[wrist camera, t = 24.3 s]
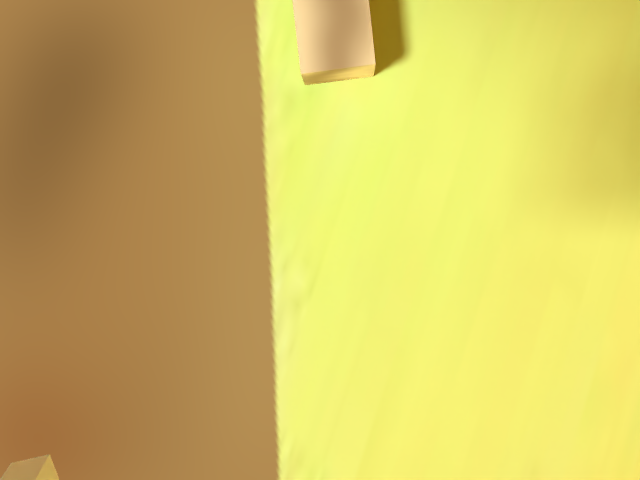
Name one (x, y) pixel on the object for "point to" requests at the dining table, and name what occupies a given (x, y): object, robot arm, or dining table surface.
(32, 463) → the robot arm
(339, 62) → the beige and green blocks
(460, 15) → the dining table surface
